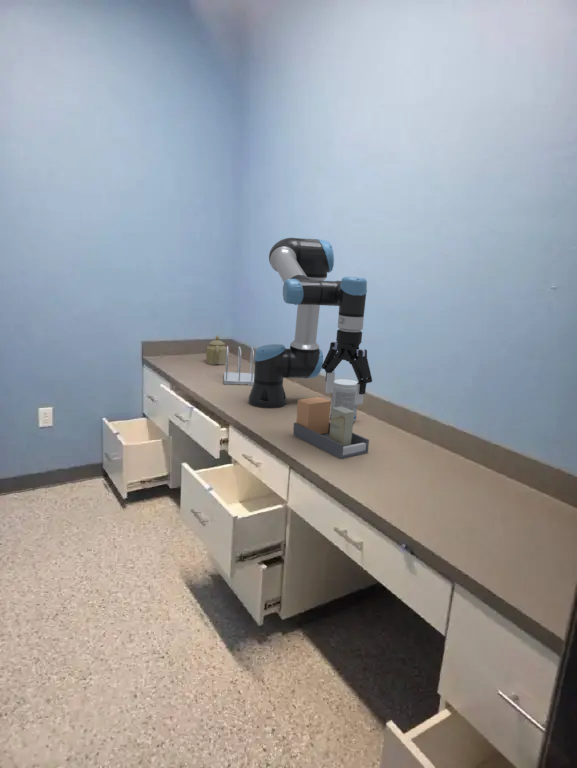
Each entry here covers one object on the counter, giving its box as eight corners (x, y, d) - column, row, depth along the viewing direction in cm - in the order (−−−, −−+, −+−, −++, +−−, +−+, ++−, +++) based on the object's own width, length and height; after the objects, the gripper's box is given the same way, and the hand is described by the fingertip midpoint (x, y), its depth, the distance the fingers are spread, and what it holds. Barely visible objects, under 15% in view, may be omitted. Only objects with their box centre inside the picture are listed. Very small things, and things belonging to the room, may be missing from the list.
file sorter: (223, 384, 237) (224, 350, 233) (223, 376, 254) (224, 344, 250) (279, 386, 240) (281, 352, 237) (275, 377, 257) (277, 346, 253)
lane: (293, 434, 176) (294, 422, 175) (319, 430, 182) (320, 418, 181) (340, 459, 157) (342, 445, 156) (367, 452, 164) (369, 439, 163)
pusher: (295, 431, 176) (297, 399, 174) (317, 427, 182) (319, 396, 179) (306, 436, 172) (309, 404, 169) (328, 432, 177) (330, 401, 174)
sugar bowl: (234, 365, 277) (235, 337, 274) (215, 367, 271) (216, 338, 267) (221, 360, 289) (221, 333, 285) (202, 361, 283) (203, 334, 279)
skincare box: (327, 444, 167) (330, 407, 164) (338, 441, 169) (341, 405, 167) (341, 450, 162) (344, 412, 159) (351, 448, 165) (355, 410, 162)
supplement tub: (361, 422, 194) (364, 383, 190) (341, 425, 189) (344, 386, 185) (344, 415, 202) (347, 377, 198) (324, 418, 197) (327, 379, 193)
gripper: (314, 324, 164) (309, 389, 170) (370, 337, 145) (362, 410, 150) (332, 323, 169) (326, 387, 174) (389, 336, 149) (381, 407, 155)
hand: (343, 398), depth 162 cm, fingers open, 13 cm apart
